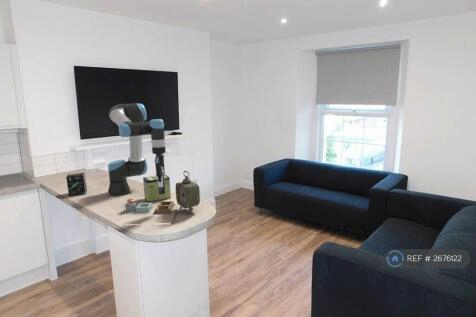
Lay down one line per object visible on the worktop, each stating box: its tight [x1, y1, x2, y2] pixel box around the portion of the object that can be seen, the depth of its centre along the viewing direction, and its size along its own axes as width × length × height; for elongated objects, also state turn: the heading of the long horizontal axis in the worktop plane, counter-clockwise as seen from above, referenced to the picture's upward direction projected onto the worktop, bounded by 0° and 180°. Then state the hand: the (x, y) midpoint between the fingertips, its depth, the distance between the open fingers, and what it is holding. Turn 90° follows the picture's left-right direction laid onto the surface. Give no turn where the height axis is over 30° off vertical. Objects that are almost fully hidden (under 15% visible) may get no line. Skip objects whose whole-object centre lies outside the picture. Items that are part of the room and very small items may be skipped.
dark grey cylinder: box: [157, 167, 166, 194], centre depth 186 cm, size 4×4×16 cm
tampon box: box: [65, 171, 88, 197], centre depth 229 cm, size 11×9×15 cm
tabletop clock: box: [175, 170, 201, 215], centre depth 190 cm, size 14×9×25 cm, turn 37°
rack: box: [153, 200, 176, 215], centre depth 193 cm, size 16×10×3 cm, turn 1°
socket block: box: [124, 201, 155, 215], centre depth 192 cm, size 12×15×5 cm
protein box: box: [142, 173, 172, 203], centre depth 213 cm, size 10×16×16 cm
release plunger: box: [126, 198, 135, 205], centre depth 191 cm, size 4×4×5 cm
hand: (161, 185), depth 186 cm, fingers closed on dark grey cylinder, 4 cm apart
